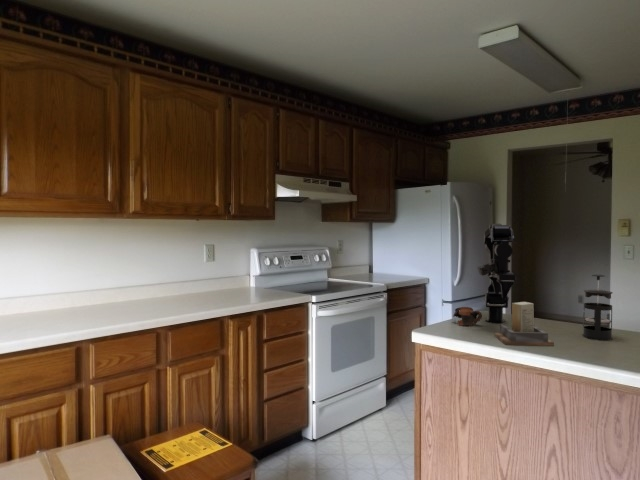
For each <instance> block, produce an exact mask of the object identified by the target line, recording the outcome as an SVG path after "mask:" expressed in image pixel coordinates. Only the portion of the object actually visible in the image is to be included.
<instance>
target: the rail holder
mask: <svg viewBox="0 0 640 480" xmlns="http://www.w3.org/2000/svg"><path fill="white" fill-rule="evenodd" d="M493 336H494V338H497V339H498V340H499V341H500V342H501V343H503V344H504V345H505V346H539V347H541V346H544V347H554V346H555V342H554V341H552V340H551V339H549V333H548V332H546V331H545V330H543V329H541V328H540V327H538V326H536V325H534V332H514V331H513V330H512V328H510V327H508V326H506V324H499V332H494V335H493Z"/></svg>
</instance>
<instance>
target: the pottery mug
mask: <svg viewBox="0 0 640 480" xmlns="http://www.w3.org/2000/svg"><path fill="white" fill-rule="evenodd" d="M454 311H455V312H454V313H453V316H452V317H453V318H454V317H456V318H458V319H459V320H457V325H458V326H459V327H461V326H467V327H473V326H474V324H475V325H476V324H477V323H478V322H480V321H481V320H482V318H483V313H482V312H481V311H479V310H475V311H474V309H473V308H472V307H470V306H461V307H456V308H455V309H454Z"/></svg>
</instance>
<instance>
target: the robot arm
mask: <svg viewBox="0 0 640 480" xmlns="http://www.w3.org/2000/svg"><path fill="white" fill-rule="evenodd" d="M483 234H484V235H483V245H484V247H485V251H486V252H487V253H488V254H489V263H486V264H482V265H480V266H477V270H478V273H479V275H481V276H482V277H483V276H487V278H488V279H489V280H490V281H489V283H490V284H489V286H488V287H487V291H486V293H485V295H484V296H485V297H484V298H485V299H484V306H485V308H488V315H487V316H488V318H486V319H485V322H488V323H489V322H490V323H497V324H502V323H504V322H506V319H503V317H504V309H507V308H508V307H509V300H510V297H509V295H508V294H509V292H510V290H511V288H512V286H513V285H514V284H515V281H517V274H515V273H514V272H511V269H510V268H509V266H510V265H509V263H511V259H510V257H511V256H512V254H513V252H514V251H513V248H512V245H510V243H514V241H515V233H514V230H513V228H512V227H511V225H510V224H502V223H490V224H489V227H488V228H487V229H486V230H485V231H484V233H483Z"/></svg>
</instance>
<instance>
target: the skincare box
mask: <svg viewBox="0 0 640 480" xmlns="http://www.w3.org/2000/svg"><path fill="white" fill-rule="evenodd" d="M534 305H535V304H534V303H533V302H528V301H520V302H519V301H518V302H512V303H511V330H513V331H514V332H534V326H535V325H534V324H535V323H534V321H535V320H534V319H535V318H534V316H535V315H534V313H535V312H534V311H535V310H534Z"/></svg>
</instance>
